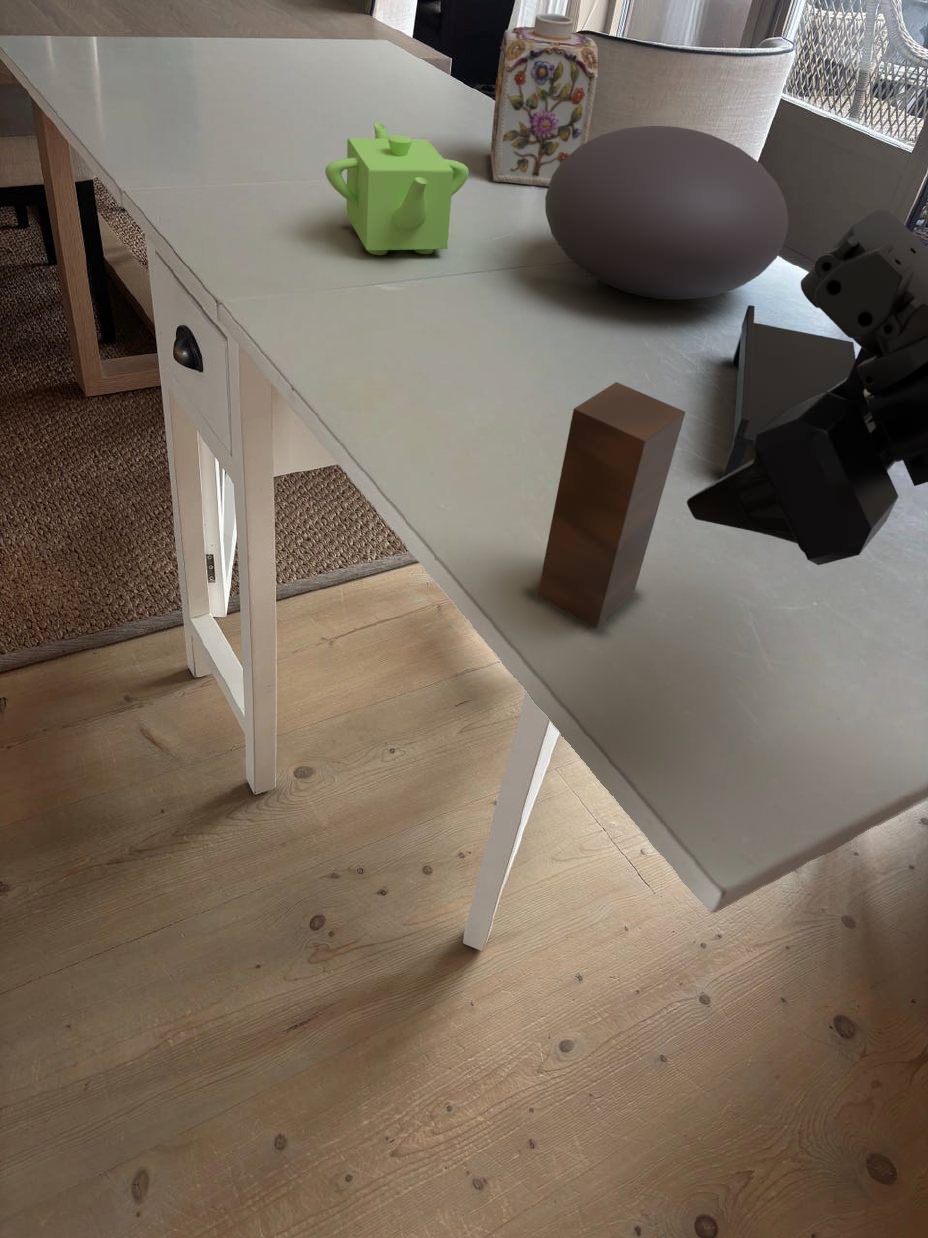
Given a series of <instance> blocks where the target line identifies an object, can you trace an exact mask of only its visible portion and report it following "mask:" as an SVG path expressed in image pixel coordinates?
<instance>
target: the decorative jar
mask: <svg viewBox="0 0 928 1238" xmlns="http://www.w3.org/2000/svg"><path fill="white" fill-rule="evenodd" d="M534 18H535V19H534V25H533V26H519V27H518V26H517V27H514V28H510V29H505V31H504V33H503V35H502V39H501V43H500V47H499V49H500V55H499V64H498V71H497V75H496V81H495V99H494V109H493V117H492V118H493V119H492V129H491V141H490V142H491V143H490V161H491V171H492V180H493V182H497V183H498V182H499V183H510V184H520V185H530V186H540V187H547V188H548V187H549V184H550V181H551V178H552V175H553V174H554V172H555V171H556V169H557V168H558V166H559V165H560V163H561V162H562V161H563V160H565V159H566V158H567V157H568V156H569V155H570V154H571V153H572V152H574V151H575V150H576V149H577V148H578V147H579V146H581V145H583V144H585V143H587V142H588V140H589V133H590V126H591V119H592V113H593V108H594V102H595V100H594V99H595V96H596V95H595V94H596V88H597V81H598V77H599V65H600V64H599V59H598V56H599V50H598V45H597V42H596V41H595V40H594V39H592V38H590V37H588V36H585V35H584V34H582V33H577V32H575V31H573V26H574V20H573V19H572V17H569V16H566V15H563V14H558V13H539V14H536V16H535V17H534Z"/></svg>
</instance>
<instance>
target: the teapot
mask: <svg viewBox="0 0 928 1238" xmlns="http://www.w3.org/2000/svg"><path fill="white" fill-rule="evenodd" d="M373 129H374V137H375V138H367V137H366V138H365V137H364V138H363V137H362V138H360V137H355V138H354V137H348V138H347V143H346V145H347V148H346V151H347V152H346V154H347V155H346V158H341V159H336V160H334V161H331V162H329V163H328V164H327V165H326V167H325V171H324V172H325V177H326V178H327V179H326V180H328V182H329V184H330V185H331V187H332V188H333V189H334V190H335V191H336V192H337V193H338V194H340V195H341V196H342V197H343V198H344V199H346V216H347V218H348V220H349V222H350V224H351V225H352V227H353V229H354V231H355V233H356V235H357V236H358V237H359V239H360V241H361V244H362V245H363V247H364V249H365V250H366V251H367V252H368V253H370V254H372V255H376V256H383V255H386V254H387V253H388V251H402V250H403V251H404V250H405V251H406V250H413V251H414V252H415V253H417V254H421V255H430V254H433V252H434V250H447V249H448V241H449V229H450V220H451V219H450V218H451V208H452V207H451V206H452V197H453V196H454V195H455V194H456V193H457V192H458V191H459V190H461V188H462V187H463V186H464V185H465V183H466V181H467V179H468V178H469V174H470V173H469V168H468V167H467V165H465V164H464V163H463V162H460V161H456V160H453V159H447V158H444V157H443V156H442V155H441V154H440V153H439V152H438V151H437V149H436V148H435V147H434V146H433V145H432V144H431V143H430V141H429V140H428V139H422V138H421V139H420V138H419V139H416V138H411V137H409V136H407V135H404V134H403V135H402V134H392V135H388V131H387V127H386V126H385V125H384V124H382V123H381V122H375V123H374V124H373ZM345 170H346V181H345V180H344V178H343V175H342V173H343V172H344V171H345Z"/></svg>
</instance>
